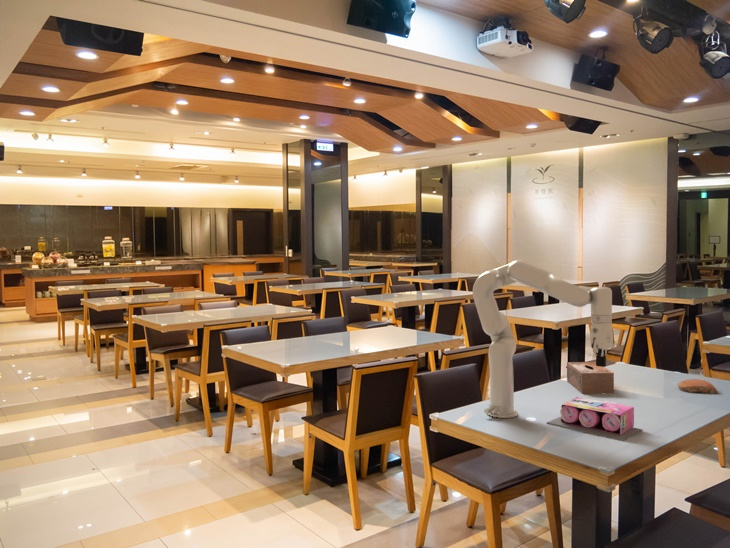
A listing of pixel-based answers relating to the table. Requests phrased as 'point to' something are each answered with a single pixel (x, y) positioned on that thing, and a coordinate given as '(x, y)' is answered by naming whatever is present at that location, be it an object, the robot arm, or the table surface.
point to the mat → (601, 433)
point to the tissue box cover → (590, 378)
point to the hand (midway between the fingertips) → (600, 366)
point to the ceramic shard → (697, 386)
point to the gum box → (597, 415)
